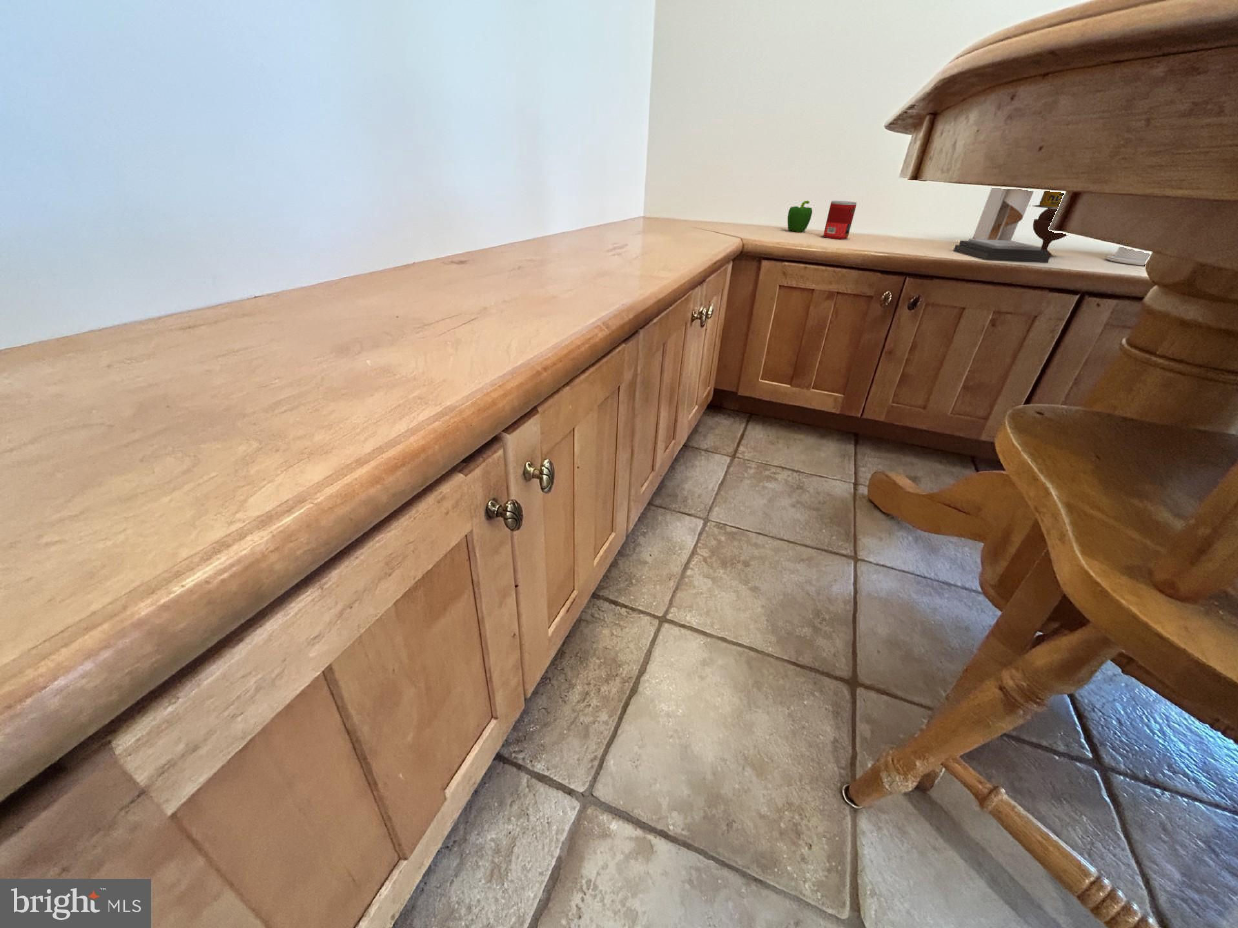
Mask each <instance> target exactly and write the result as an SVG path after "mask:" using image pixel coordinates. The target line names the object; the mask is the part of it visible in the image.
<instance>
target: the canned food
mask: <svg viewBox="0 0 1238 928" xmlns="http://www.w3.org/2000/svg"><path fill="white" fill-rule="evenodd" d="M857 205H858V204H857V201H849V200H848V201H847V200H831V202H830V205H829V209H828V213H827V218H826V222H825V226H824V230H823V237H824V238H825V239H831V240H847V239H848V237H849V234H850V232H851V228H852V224H853V220H854V216H855V213H856V207H857Z"/></svg>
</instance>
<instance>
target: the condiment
mask: <svg viewBox="0 0 1238 928" xmlns="http://www.w3.org/2000/svg"><path fill="white" fill-rule="evenodd" d="M1063 195H1064V193H1061V192H1050V191H1045V190H1044V191H1043V194H1042V196H1041V198H1040V201H1039V204H1034V205H1033V207H1035V208H1042V209H1048V208H1052V209H1058V207H1059V204H1060V202H1061V199H1062V196H1063Z"/></svg>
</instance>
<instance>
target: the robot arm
mask: <svg viewBox="0 0 1238 928" xmlns="http://www.w3.org/2000/svg"><path fill="white" fill-rule="evenodd" d="M1149 256H1150V254H1149V253H1144V252H1142V251H1135V250H1133V249H1127V248H1124V247H1120V246H1119V247H1118V248H1117V251H1116V252H1115V254H1108V255H1107V256H1106V260H1107V261H1110V262H1114V263H1120V264H1127V265H1135V266H1144V264H1145V262H1146V260H1147V259H1148V257H1149Z"/></svg>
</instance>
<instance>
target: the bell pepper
mask: <svg viewBox="0 0 1238 928" xmlns="http://www.w3.org/2000/svg"><path fill="white" fill-rule="evenodd" d="M806 204H807V205H809V204H810V201H809V200H804V201H802V202H801V205H800V207H799V206H797V205H795V206H790V208H788V209H789V210H788V213H787V229H788V231H790V232H795V233H802V232H805V231H806V230H807V228H808V226H809V224H810V221H811V219H812V215H813V208H812V207H809V206H805V205H806Z"/></svg>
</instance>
